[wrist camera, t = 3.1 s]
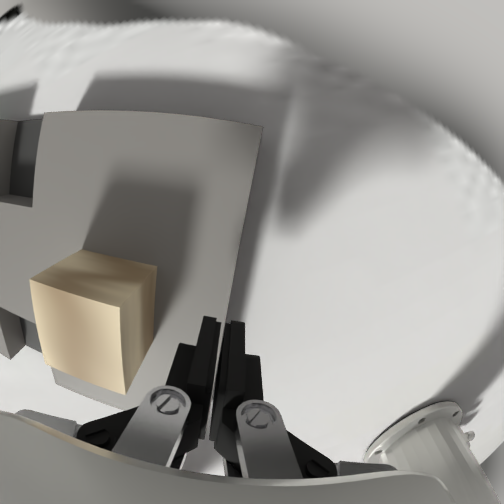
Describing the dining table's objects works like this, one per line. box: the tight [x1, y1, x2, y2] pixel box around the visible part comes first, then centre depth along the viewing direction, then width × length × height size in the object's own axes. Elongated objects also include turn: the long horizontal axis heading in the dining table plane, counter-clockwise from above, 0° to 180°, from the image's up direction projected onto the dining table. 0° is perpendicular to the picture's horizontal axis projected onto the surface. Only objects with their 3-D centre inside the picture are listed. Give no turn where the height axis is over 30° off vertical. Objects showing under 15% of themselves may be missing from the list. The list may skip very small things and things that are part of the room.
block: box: [29, 249, 157, 395], centre depth 11 cm, size 4×4×4 cm
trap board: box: [0, 110, 263, 429], centre depth 13 cm, size 28×19×6 cm
